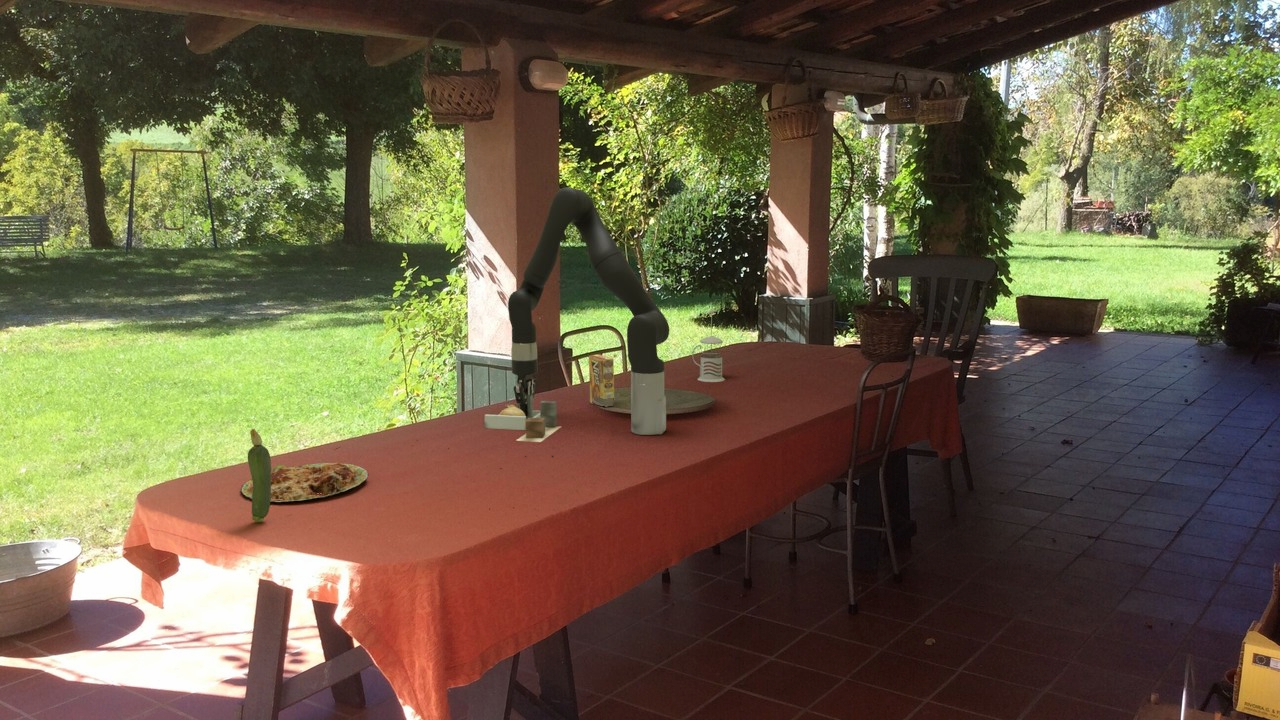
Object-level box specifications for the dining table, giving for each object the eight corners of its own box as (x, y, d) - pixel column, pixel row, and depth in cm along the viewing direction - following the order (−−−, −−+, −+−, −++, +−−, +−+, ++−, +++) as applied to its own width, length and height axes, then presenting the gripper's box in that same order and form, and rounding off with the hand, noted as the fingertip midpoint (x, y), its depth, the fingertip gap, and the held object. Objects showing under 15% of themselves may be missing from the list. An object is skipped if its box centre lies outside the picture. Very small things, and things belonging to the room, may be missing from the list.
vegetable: (266, 517, 212) (260, 423, 209) (279, 521, 210) (273, 426, 206) (247, 523, 208) (240, 427, 205) (260, 527, 206) (254, 430, 203)
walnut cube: (545, 434, 278) (544, 417, 277) (542, 438, 273) (542, 421, 272) (528, 433, 278) (528, 417, 277) (526, 437, 273) (525, 421, 273)
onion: (529, 426, 292) (529, 402, 291) (522, 433, 284) (521, 408, 283) (502, 425, 293) (502, 401, 292) (494, 432, 285) (493, 407, 284)
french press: (726, 381, 357) (726, 311, 353) (692, 382, 357) (693, 311, 353) (724, 376, 367) (724, 307, 362) (691, 376, 367) (692, 307, 363)
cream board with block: (562, 430, 287) (561, 401, 286) (541, 446, 269) (540, 416, 268) (538, 428, 289) (537, 400, 287) (515, 445, 271) (515, 414, 269)
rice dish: (243, 517, 217) (241, 493, 215) (239, 477, 241) (237, 456, 240) (377, 501, 227) (376, 478, 226) (360, 465, 252) (359, 444, 251)
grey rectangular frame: (546, 418, 300) (545, 395, 299) (525, 433, 282) (524, 408, 281) (508, 416, 303) (507, 393, 302) (485, 431, 285) (484, 406, 284)
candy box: (615, 406, 318) (614, 357, 316) (603, 407, 316) (602, 359, 313) (600, 401, 325) (599, 354, 323) (588, 403, 323) (588, 355, 321)
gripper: (528, 361, 290) (530, 421, 293) (544, 354, 303) (545, 411, 306) (503, 360, 292) (505, 420, 294) (520, 353, 305) (521, 409, 308)
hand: (525, 415), depth 300 cm, fingers closed on grey rectangular frame, 2 cm apart
